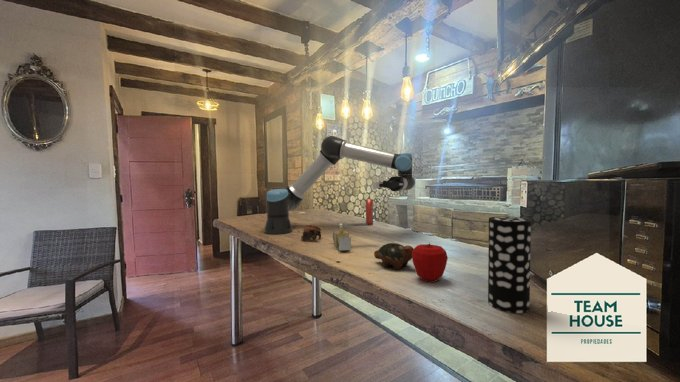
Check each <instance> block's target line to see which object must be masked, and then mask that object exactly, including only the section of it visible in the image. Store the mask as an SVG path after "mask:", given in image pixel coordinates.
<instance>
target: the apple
mask: <svg viewBox="0 0 680 382" xmlns="http://www.w3.org/2000/svg"><path fill="white" fill-rule="evenodd" d="M413 248H414V249H413V251H412V259H411V260H412V263H413V267H414V269H415V272H416V275H417V276H418V277H419V278H420V279H421V280H423V281H424V282H429V283H434V282H437V281H438V280H439V279H441V278H442V277H443V275H444V272H445V270H446V267H447V262H448V258H449V257H448V254H447V251H446V250H445V248H443V247H442V246H441V245H437V244H436V245H435V244H431V243H430V242H429V243H428V244H427V243H426V244H424V243H423V244H418V245H416V246H415V247H413Z"/></svg>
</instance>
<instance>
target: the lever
mask: <svg viewBox="0 0 680 382" xmlns="http://www.w3.org/2000/svg"><path fill="white" fill-rule="evenodd" d="M365 226H366V227H367V226H370V227H371V226H374V199H370V198H369V199H365V222H351V223H350V222H349V223H347V222H346V223H342V222H341V223H337V227H338V228H339V227H343V228H344V227H365Z"/></svg>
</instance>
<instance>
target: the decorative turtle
mask: <svg viewBox="0 0 680 382" xmlns="http://www.w3.org/2000/svg"><path fill="white" fill-rule="evenodd" d="M414 248H415V247H413V246H411V245H405V246H404V245H403V244H399V243H396V242H388V243H386V244H382V246H380V247H379V249H378V250H375V251H374V254H373V255H374V258H375V259H378V260H381V262H382V266H384V268H389V267H390V266H391V265H392V266H393V268H394V269H395V270H396V271H399V270H401V268H402V266H403V267H407V266H408V264H409V261H411V260H412V251H413V249H414Z"/></svg>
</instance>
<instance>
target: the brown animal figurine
mask: <svg viewBox="0 0 680 382" xmlns="http://www.w3.org/2000/svg"><path fill="white" fill-rule="evenodd" d="M302 231H303V232H302V236H301V239H300V240H301V242H302V241H304V242H308V243H310V242H311V240H312V241H316V240H317V237H318V239H321V238H322V229H321V228H320V227H318V226H316V225H314V224H308V225H306V226H305V228H304V229H303V230H302Z"/></svg>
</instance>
